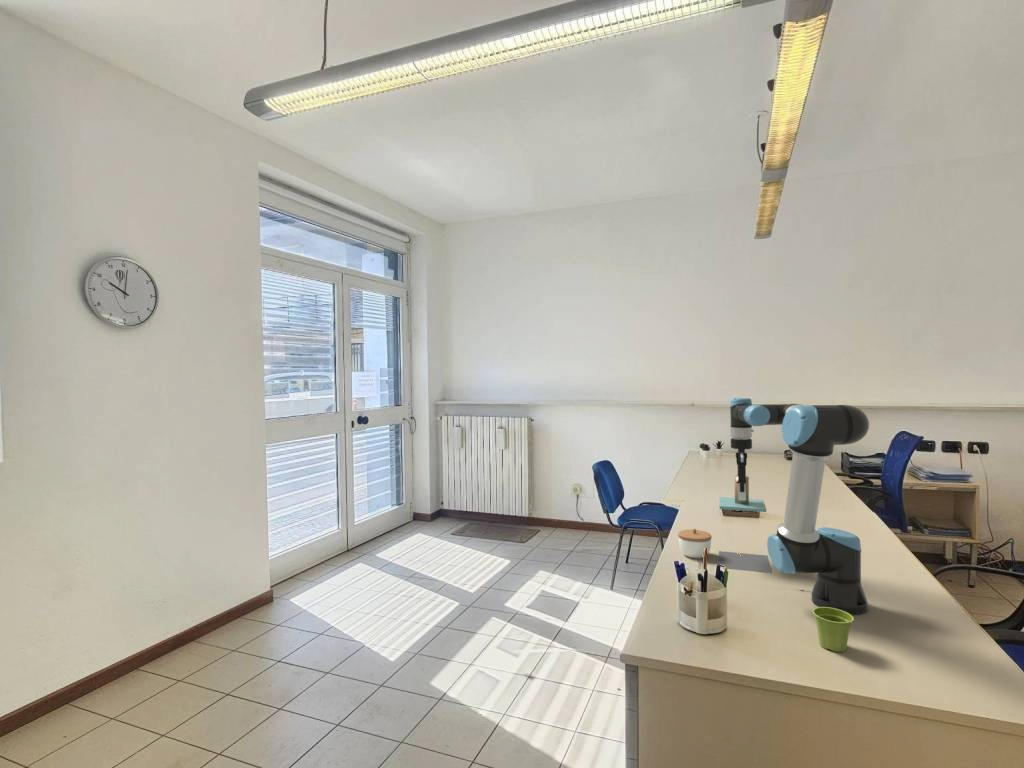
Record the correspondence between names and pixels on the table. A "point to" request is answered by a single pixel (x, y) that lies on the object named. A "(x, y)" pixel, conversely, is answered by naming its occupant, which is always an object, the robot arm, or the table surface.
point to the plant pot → (833, 627)
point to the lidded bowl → (694, 542)
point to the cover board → (743, 507)
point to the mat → (745, 561)
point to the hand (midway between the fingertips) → (741, 498)
